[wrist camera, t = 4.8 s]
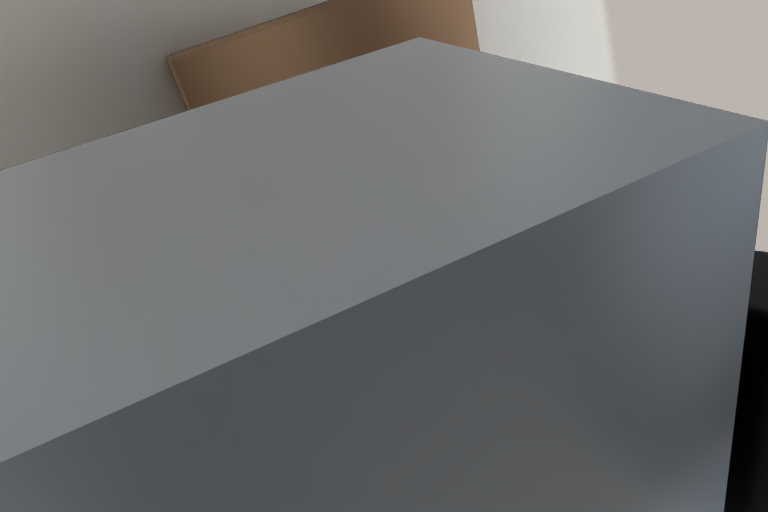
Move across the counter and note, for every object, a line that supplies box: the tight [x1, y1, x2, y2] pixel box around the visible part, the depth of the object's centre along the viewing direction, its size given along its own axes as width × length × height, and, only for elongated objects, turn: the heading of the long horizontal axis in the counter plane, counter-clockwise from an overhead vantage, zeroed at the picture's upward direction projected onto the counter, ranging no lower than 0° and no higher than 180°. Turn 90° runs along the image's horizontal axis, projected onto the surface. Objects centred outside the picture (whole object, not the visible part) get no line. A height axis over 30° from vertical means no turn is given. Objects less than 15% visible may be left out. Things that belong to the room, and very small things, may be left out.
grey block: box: [0, 37, 768, 512], centre depth 7 cm, size 6×6×5 cm
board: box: [166, 0, 480, 110], centre depth 19 cm, size 9×8×4 cm
